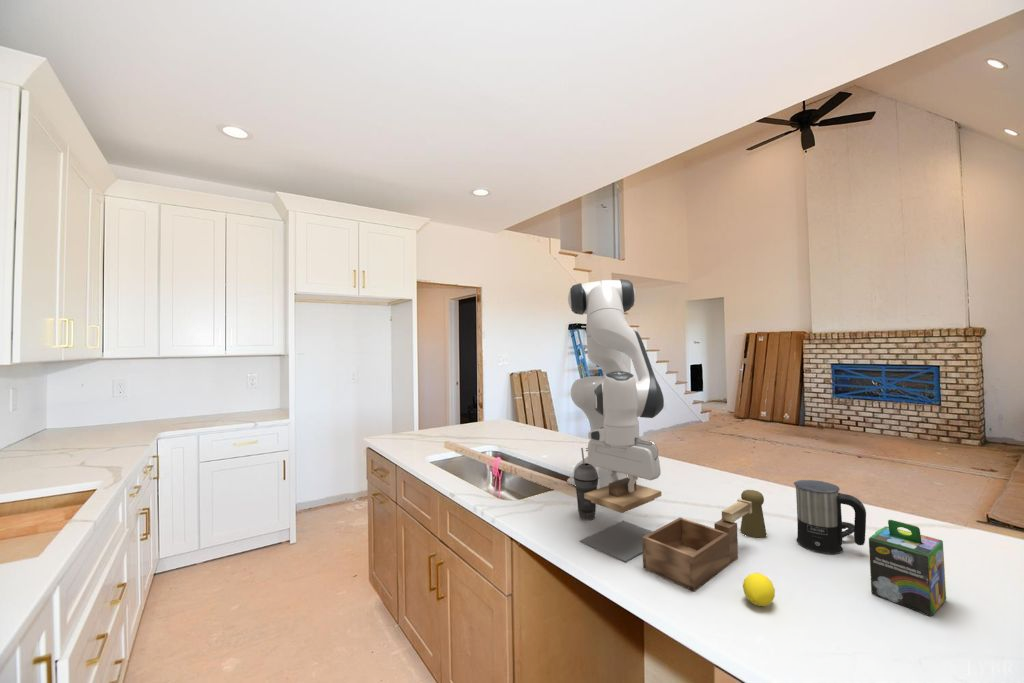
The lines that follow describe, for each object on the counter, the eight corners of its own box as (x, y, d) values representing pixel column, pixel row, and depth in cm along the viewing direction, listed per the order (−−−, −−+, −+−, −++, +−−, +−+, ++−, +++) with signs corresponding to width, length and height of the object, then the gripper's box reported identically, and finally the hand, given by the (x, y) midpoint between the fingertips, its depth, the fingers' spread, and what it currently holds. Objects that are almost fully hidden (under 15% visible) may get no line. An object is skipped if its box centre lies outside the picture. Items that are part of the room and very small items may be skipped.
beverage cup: (589, 524, 120) (587, 453, 120) (569, 517, 126) (567, 448, 126) (604, 517, 125) (603, 448, 125) (585, 510, 130) (583, 444, 130)
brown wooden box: (643, 568, 97) (642, 531, 97) (689, 540, 109) (688, 508, 109) (694, 591, 87) (693, 551, 87) (737, 558, 100) (737, 523, 100)
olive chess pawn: (770, 539, 109) (769, 495, 109) (744, 537, 110) (743, 494, 110) (761, 528, 115) (760, 487, 115) (737, 527, 116) (736, 486, 116)
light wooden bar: (720, 520, 101) (720, 509, 101) (739, 509, 108) (739, 498, 108) (733, 524, 99) (733, 513, 99) (752, 512, 105) (751, 502, 105)
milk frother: (800, 551, 102) (799, 489, 102) (785, 524, 117) (784, 470, 117) (874, 561, 97) (873, 495, 97) (849, 531, 112) (847, 474, 112)
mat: (580, 541, 110) (580, 540, 110) (623, 521, 121) (623, 520, 121) (625, 562, 99) (625, 561, 99) (668, 538, 111) (668, 537, 110)
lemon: (772, 618, 79) (771, 591, 79) (740, 607, 83) (738, 581, 82) (778, 595, 85) (777, 570, 84) (747, 586, 88) (746, 561, 87)
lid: (584, 502, 110) (584, 482, 110) (622, 488, 120) (622, 470, 120) (623, 515, 100) (622, 494, 100) (661, 499, 110) (661, 480, 110)
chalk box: (947, 600, 82) (945, 523, 82) (932, 618, 77) (930, 536, 77) (885, 578, 90) (884, 508, 90) (868, 593, 85) (867, 519, 85)
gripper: (664, 439, 104) (666, 496, 104) (598, 428, 120) (600, 477, 120) (649, 443, 100) (651, 503, 100) (583, 431, 116) (584, 482, 116)
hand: (623, 489), depth 110 cm, fingers closed on lid, 3 cm apart
